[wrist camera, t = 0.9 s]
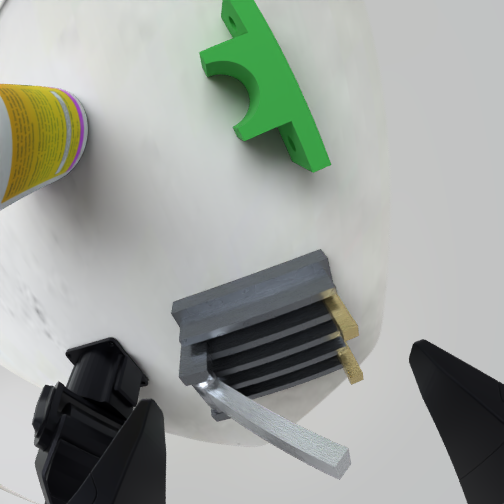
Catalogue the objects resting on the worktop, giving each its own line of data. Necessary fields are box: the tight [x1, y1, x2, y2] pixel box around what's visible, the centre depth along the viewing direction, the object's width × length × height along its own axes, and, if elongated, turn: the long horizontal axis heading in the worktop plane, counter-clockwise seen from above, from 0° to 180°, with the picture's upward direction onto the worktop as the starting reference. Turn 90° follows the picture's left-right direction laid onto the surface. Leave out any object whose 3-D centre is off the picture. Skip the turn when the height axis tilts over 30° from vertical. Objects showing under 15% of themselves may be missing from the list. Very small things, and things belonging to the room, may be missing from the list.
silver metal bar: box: [192, 372, 351, 480], centre depth 16 cm, size 12×4×2 cm
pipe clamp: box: [199, 0, 331, 173], centre depth 14 cm, size 11×4×5 cm, turn 25°
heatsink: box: [171, 249, 363, 421], centre depth 21 cm, size 12×10×7 cm
